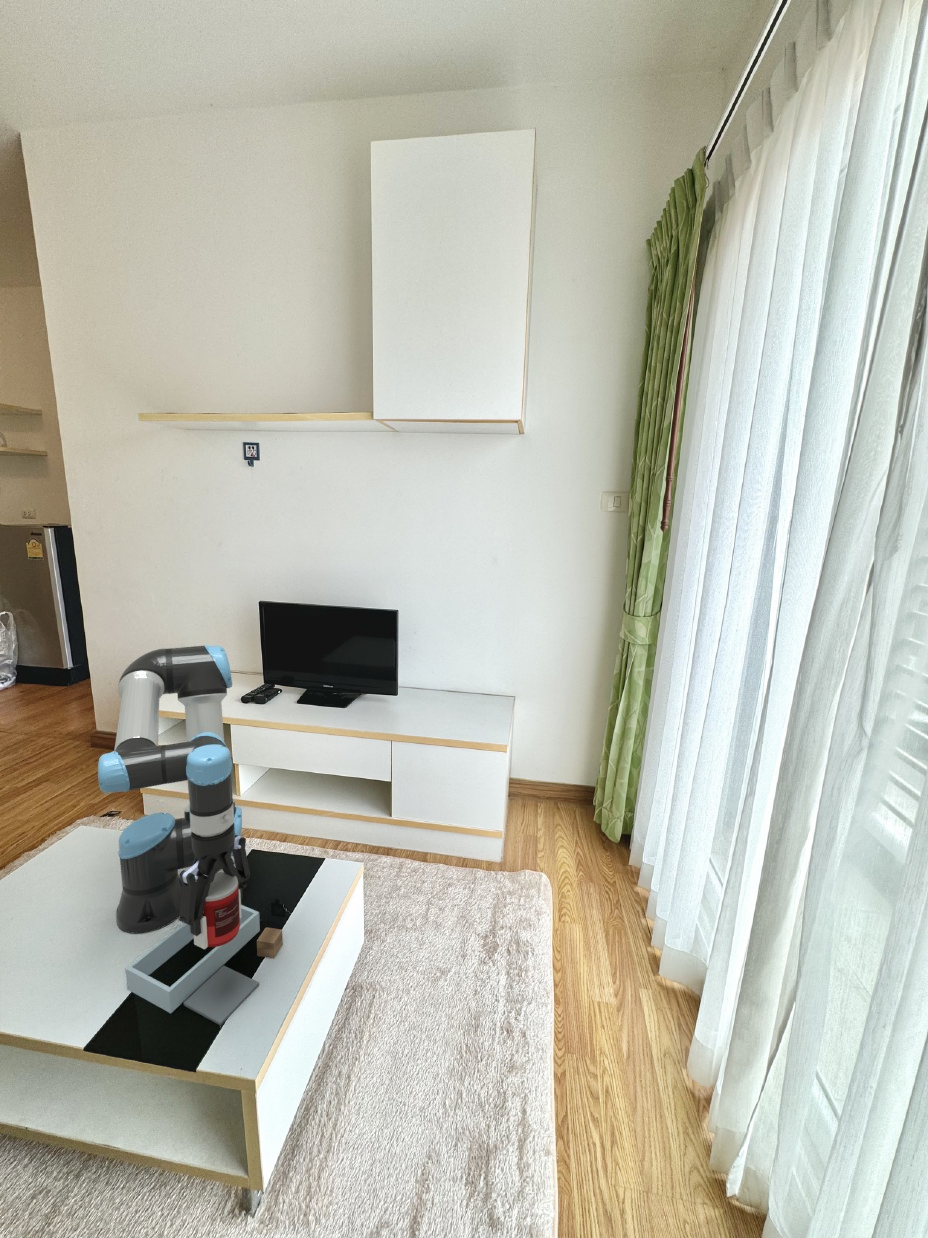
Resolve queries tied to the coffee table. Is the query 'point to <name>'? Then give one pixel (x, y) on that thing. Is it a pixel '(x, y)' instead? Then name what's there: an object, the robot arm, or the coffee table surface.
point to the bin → (196, 975)
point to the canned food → (222, 910)
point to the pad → (221, 995)
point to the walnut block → (269, 943)
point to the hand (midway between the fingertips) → (218, 930)
